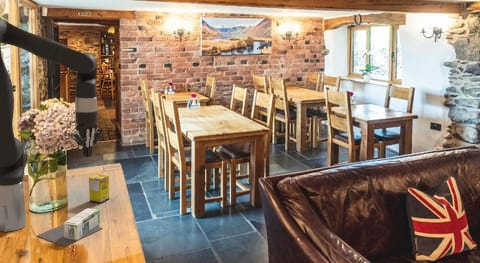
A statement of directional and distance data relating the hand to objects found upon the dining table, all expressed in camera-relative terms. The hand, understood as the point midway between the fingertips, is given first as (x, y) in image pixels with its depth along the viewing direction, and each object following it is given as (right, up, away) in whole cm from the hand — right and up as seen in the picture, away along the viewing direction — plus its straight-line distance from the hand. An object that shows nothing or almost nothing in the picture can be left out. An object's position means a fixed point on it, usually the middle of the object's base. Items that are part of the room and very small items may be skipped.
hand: (87, 156), depth 154 cm
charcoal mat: (-5, -27, -2) cm, 28 cm away
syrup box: (0, -23, +6) cm, 24 cm away
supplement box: (-5, -21, +29) cm, 36 cm away
